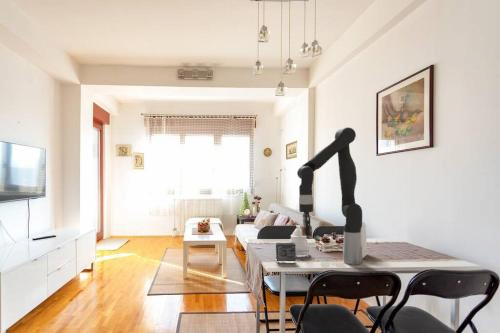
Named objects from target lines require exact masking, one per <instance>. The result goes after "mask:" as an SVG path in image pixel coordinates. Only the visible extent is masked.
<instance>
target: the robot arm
mask: <svg viewBox="0 0 500 333" xmlns="http://www.w3.org/2000/svg"><path fill="white" fill-rule="evenodd" d="M334 134H335V135H334V140H333V141H332V142H331V143H330V144H328V145H327V146H325V147H324V148H322V149H321V150H319V151H318V152H316V154H315V155H313V157H311V158H310V159H309V160H308V161H306V162H305V163H304V164H302V165H301V166H300V167H299V168H298V169H297V177H298V179H301V181H300V184H299V188H298V190H299V194H298V195H299V196H298V208H299V209H298V210H299V211H298V212H300V213H303V214H302V216H301V217H302V225H305V235H310V225H311V214H310V213H313V212H314V197H313V184H314V183H313V182H314V172H315V171H317V170H320V169H321V168H322V167H323V166H324V165H325V164H326V163H327V162H329V160H331V159H332V158H333V157H334V156H335V155H336V154H337V160H338V161H337V162H338V172H339V174H338V175H339V182H340V190H341V213H342V216H343V217H344V218H345V223H344V225H345V226H343V240H344V256H343V262H344V263H345V264H347V265H348V264H349V265H359V264H361V265H362V264H363V258H362V246H361V227H362V221H363V209H362V207H361V206H360V205H359V204H358V203H356V199H355V197H356V196H355V192H356V191H355V190H356V185H357V177H358V175H357V168H356V165H355V162H354V159H353V157H352V155H351V151H350V144H352V143H353V142H354V141H355V139H356V137H357V133H356V131H355V130H354V129H353V128H352V127H350V126H349V127H344V128H340V129H337V130H336V131H335V133H334Z"/></svg>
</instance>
